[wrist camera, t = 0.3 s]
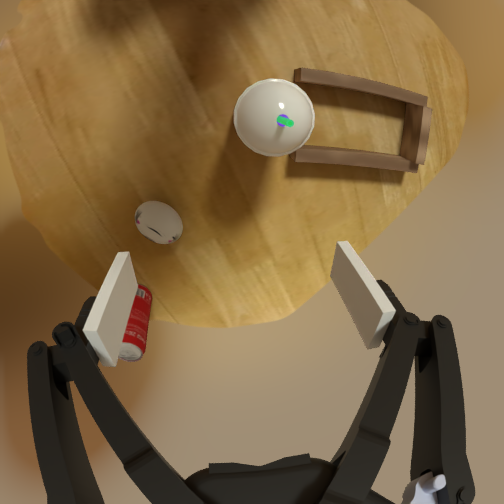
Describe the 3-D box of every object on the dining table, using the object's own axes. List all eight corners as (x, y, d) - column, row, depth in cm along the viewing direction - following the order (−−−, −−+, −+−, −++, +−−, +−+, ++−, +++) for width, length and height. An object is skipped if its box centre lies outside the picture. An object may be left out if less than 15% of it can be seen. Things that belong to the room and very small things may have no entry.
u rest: (294, 69, 35) (304, 66, 30) (415, 95, 37) (433, 97, 33) (289, 156, 42) (298, 164, 38) (406, 167, 44) (421, 175, 40)
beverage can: (121, 283, 50) (100, 340, 38) (152, 281, 51) (137, 341, 38) (129, 305, 54) (113, 363, 41) (159, 304, 54) (148, 364, 41)
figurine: (134, 214, 44) (123, 232, 38) (151, 185, 42) (141, 200, 36) (173, 238, 47) (168, 259, 41) (192, 211, 45) (189, 230, 39)
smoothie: (296, 118, 39) (354, 139, 22) (250, 148, 40) (275, 190, 24) (264, 74, 35) (304, 56, 18) (217, 105, 36) (215, 111, 20)
